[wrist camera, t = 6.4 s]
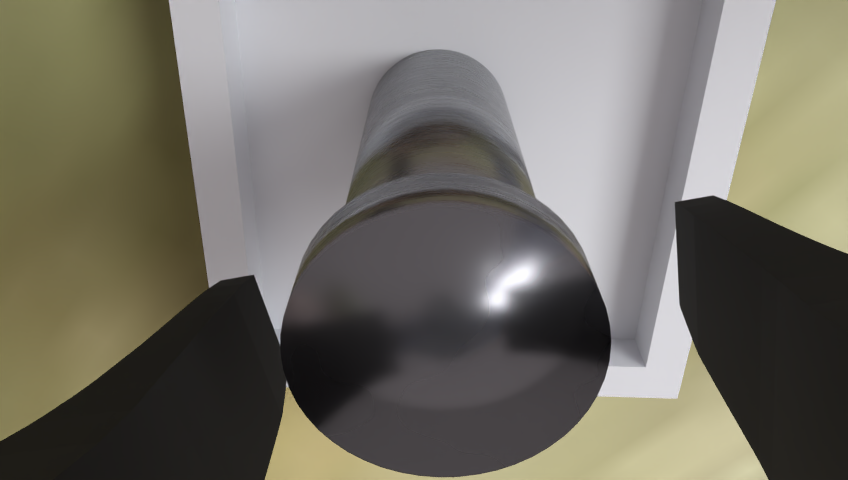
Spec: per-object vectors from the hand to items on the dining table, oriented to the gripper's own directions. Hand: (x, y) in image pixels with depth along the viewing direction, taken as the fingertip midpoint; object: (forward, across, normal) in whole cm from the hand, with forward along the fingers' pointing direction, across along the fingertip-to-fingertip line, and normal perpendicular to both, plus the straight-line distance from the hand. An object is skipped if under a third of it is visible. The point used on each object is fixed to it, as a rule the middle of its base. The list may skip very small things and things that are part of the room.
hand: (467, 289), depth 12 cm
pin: (+6, 0, -1) cm, 6 cm away
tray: (+6, 0, 0) cm, 6 cm away
